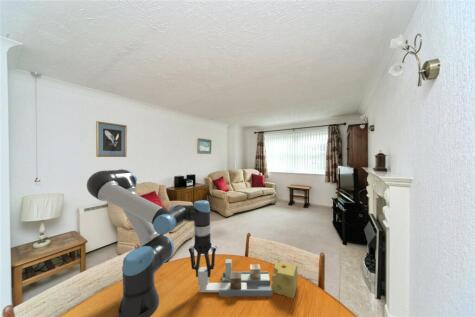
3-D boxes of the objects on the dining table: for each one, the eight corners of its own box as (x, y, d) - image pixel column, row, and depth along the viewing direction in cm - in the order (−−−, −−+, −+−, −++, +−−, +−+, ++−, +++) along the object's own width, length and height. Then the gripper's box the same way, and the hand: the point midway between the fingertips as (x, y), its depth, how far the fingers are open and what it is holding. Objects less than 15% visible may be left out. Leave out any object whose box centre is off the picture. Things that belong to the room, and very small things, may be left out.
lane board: (219, 296, 81) (219, 290, 81) (223, 276, 95) (222, 271, 95) (272, 296, 80) (272, 290, 80) (268, 276, 94) (268, 271, 94)
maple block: (250, 279, 89) (250, 269, 89) (250, 274, 93) (249, 264, 93) (260, 279, 89) (260, 269, 89) (259, 273, 93) (259, 264, 93)
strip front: (199, 292, 82) (198, 272, 83) (201, 284, 87) (201, 266, 88) (246, 292, 82) (246, 272, 82) (246, 284, 87) (246, 265, 87)
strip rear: (225, 282, 89) (225, 263, 89) (226, 275, 94) (226, 258, 94) (269, 281, 88) (269, 263, 88) (268, 275, 93) (267, 258, 93)
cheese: (271, 292, 83) (270, 270, 83) (277, 278, 92) (277, 259, 92) (294, 300, 78) (293, 276, 78) (298, 284, 87) (298, 264, 88)
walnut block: (230, 289, 82) (230, 278, 82) (231, 283, 87) (230, 272, 87) (241, 289, 82) (240, 278, 82) (241, 283, 86) (241, 272, 87)
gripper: (183, 237, 82) (184, 288, 82) (218, 236, 82) (219, 288, 81) (188, 230, 90) (189, 278, 89) (220, 230, 89) (221, 278, 88)
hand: (203, 283), depth 85 cm, fingers closed on strip front, 3 cm apart
